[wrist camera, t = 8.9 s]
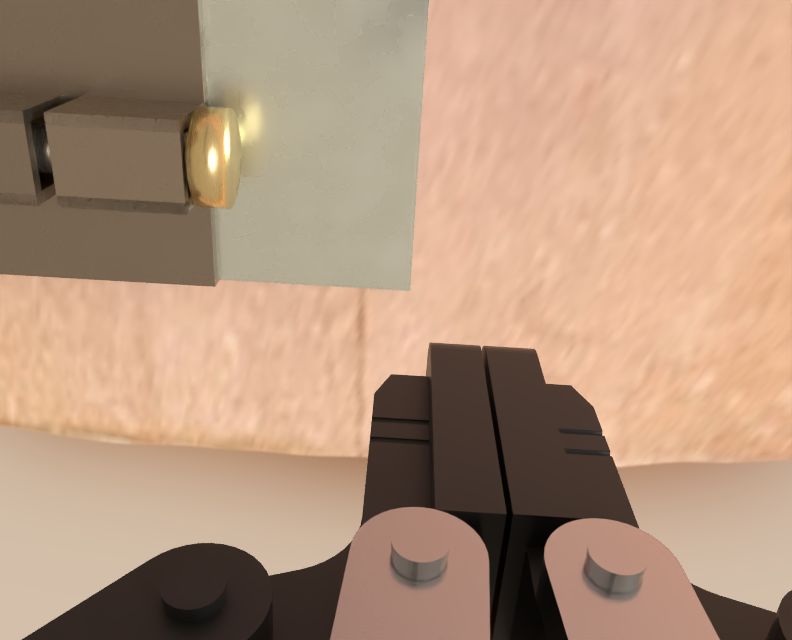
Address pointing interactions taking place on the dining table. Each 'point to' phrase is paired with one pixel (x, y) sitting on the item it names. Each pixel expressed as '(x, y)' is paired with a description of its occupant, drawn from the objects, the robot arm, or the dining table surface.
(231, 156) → the hinge pin
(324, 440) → the dining table surface
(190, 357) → the dining table surface
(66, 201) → the hinge
